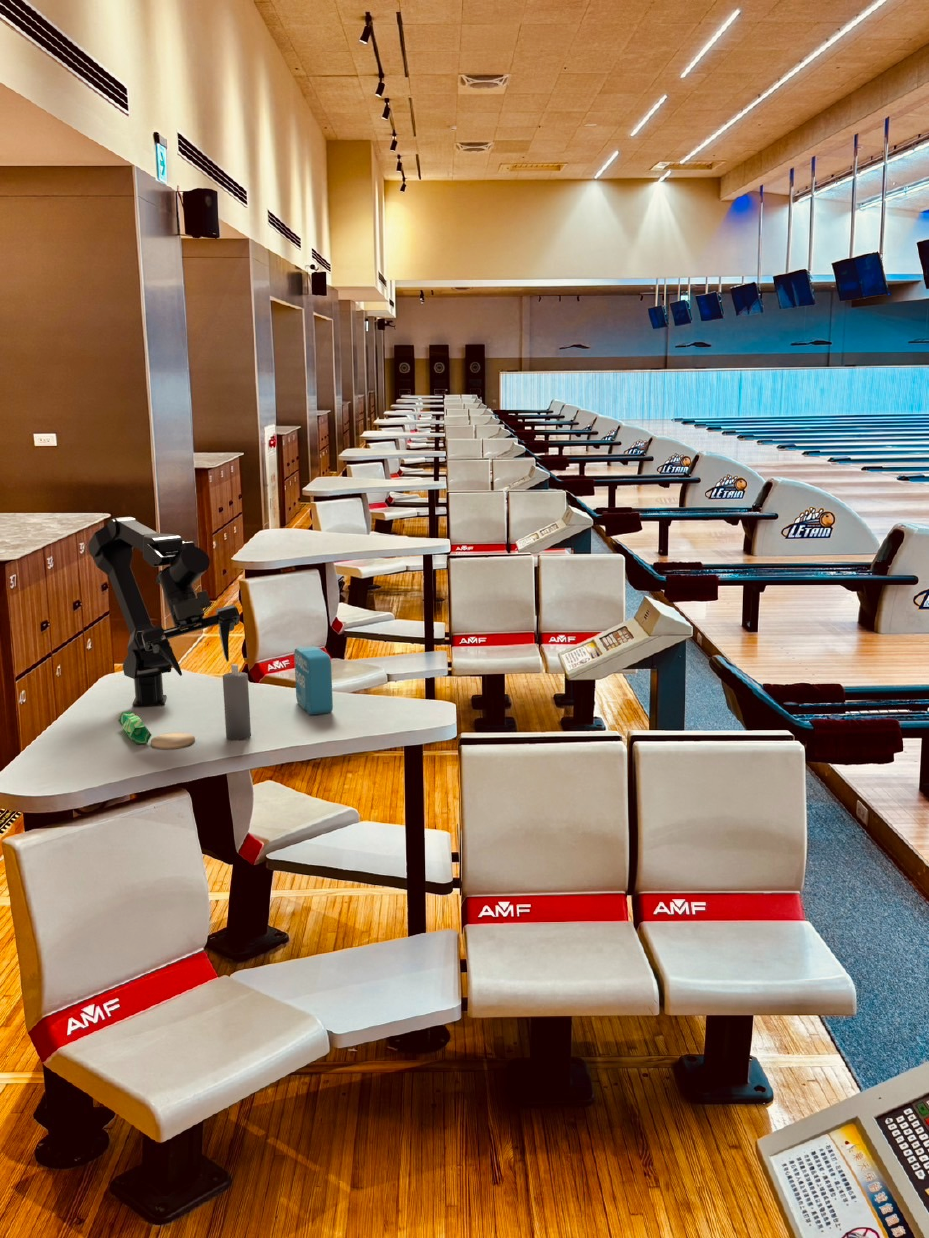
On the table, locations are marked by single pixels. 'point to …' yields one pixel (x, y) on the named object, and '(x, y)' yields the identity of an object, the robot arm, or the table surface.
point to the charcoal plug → (236, 704)
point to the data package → (313, 680)
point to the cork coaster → (172, 740)
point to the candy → (134, 727)
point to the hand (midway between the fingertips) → (204, 668)
